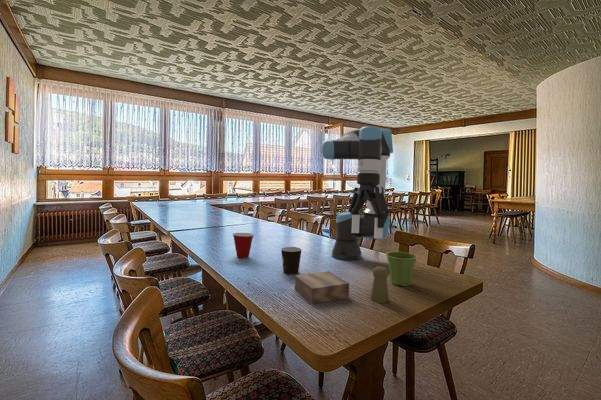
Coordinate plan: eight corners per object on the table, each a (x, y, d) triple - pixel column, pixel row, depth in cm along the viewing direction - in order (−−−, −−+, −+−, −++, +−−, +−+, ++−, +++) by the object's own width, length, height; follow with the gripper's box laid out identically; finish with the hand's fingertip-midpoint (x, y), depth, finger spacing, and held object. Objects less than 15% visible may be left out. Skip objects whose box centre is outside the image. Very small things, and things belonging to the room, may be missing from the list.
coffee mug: (298, 276, 126) (299, 252, 125) (278, 274, 128) (278, 250, 127) (304, 268, 137) (304, 246, 137) (285, 266, 139) (285, 244, 138)
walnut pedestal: (328, 284, 117) (328, 271, 117) (348, 297, 104) (349, 283, 104) (294, 288, 112) (295, 275, 111) (311, 303, 99) (312, 288, 98)
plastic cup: (258, 256, 156) (258, 232, 155) (243, 260, 147) (244, 236, 146) (242, 253, 162) (242, 230, 161) (227, 257, 153) (227, 233, 152)
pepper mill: (368, 295, 106) (369, 264, 106) (385, 295, 107) (386, 264, 106) (373, 303, 100) (374, 270, 100) (391, 302, 101) (393, 270, 100)
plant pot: (421, 283, 120) (423, 255, 119) (407, 291, 112) (409, 260, 111) (393, 276, 128) (395, 249, 128) (379, 282, 120) (380, 254, 119)
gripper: (340, 174, 114) (338, 231, 115) (382, 169, 91) (379, 240, 92) (357, 175, 117) (355, 231, 117) (402, 171, 94) (399, 240, 94)
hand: (366, 235), depth 105 cm, fingers open, 13 cm apart
